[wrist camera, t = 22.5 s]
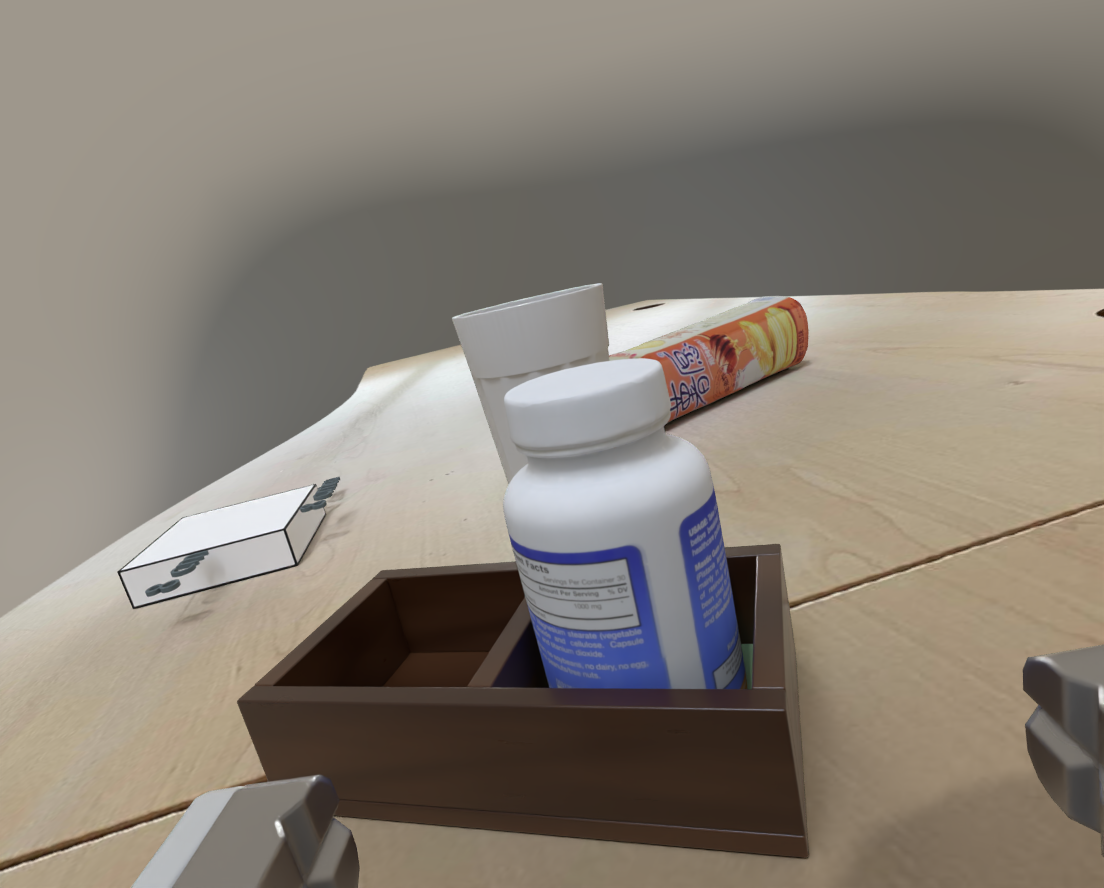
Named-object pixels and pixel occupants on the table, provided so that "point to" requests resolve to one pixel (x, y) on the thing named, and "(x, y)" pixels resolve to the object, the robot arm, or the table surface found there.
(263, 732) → the tray
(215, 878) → the robot arm
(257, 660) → the table surface
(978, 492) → the table surface
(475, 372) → the cup
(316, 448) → the table surface
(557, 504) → the pill bottle
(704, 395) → the snack package
